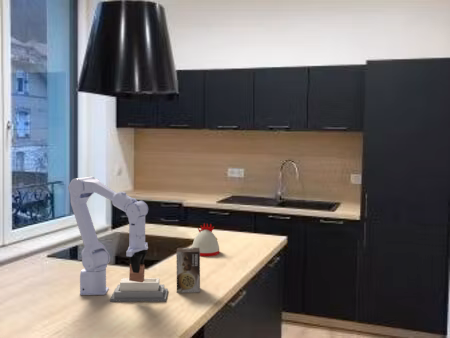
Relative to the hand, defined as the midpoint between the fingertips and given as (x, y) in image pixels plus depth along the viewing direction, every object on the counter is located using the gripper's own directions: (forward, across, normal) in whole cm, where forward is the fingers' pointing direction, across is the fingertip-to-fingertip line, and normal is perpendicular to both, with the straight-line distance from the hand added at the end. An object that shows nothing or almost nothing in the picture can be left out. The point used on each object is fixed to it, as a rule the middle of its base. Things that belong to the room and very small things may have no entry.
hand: (137, 271), depth 195 cm
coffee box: (+11, +16, -14) cm, 24 cm away
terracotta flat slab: (+3, 0, 0) cm, 4 cm away
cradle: (+10, +4, +1) cm, 11 cm away
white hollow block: (+9, +4, +1) cm, 10 cm away
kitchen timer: (+11, +74, -4) cm, 75 cm away
